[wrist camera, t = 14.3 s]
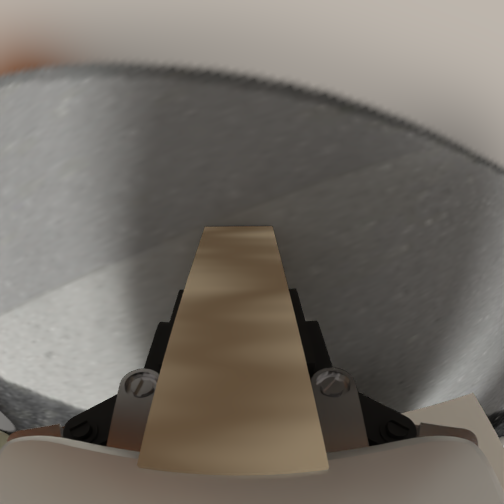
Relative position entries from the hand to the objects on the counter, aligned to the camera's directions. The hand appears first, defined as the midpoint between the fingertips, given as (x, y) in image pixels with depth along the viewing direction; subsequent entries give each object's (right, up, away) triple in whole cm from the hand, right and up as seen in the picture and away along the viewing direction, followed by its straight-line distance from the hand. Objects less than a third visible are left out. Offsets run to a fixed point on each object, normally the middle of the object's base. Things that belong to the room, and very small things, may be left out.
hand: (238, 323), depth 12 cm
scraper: (0, -4, +6) cm, 7 cm away
